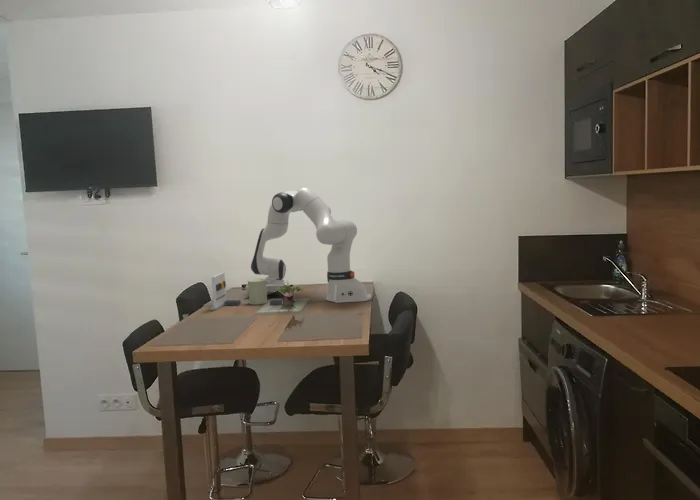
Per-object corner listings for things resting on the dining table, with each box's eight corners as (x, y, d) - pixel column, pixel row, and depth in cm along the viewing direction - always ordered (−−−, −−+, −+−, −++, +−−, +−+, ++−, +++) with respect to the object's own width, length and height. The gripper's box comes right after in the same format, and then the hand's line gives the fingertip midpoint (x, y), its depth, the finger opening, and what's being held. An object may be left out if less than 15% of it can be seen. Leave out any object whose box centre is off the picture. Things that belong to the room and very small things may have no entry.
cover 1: (240, 304, 291) (240, 299, 290) (238, 305, 288) (238, 300, 287) (227, 304, 292) (226, 299, 291) (225, 305, 289) (224, 300, 289)
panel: (228, 303, 293) (226, 272, 291) (218, 310, 279) (215, 277, 278) (220, 304, 294) (218, 272, 292) (210, 310, 280) (207, 277, 278)
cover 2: (283, 303, 287) (283, 298, 287) (282, 304, 285) (281, 299, 284) (271, 303, 288) (271, 298, 288) (270, 305, 285) (269, 299, 285)
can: (266, 304, 288) (264, 280, 287) (247, 304, 289) (245, 281, 287) (268, 300, 297) (267, 277, 296) (250, 301, 298) (249, 277, 296)
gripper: (249, 280, 313) (241, 285, 299) (286, 279, 310) (279, 284, 296) (250, 292, 313) (241, 297, 300) (287, 291, 310) (280, 296, 297)
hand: (261, 290), depth 298 cm, fingers closed
